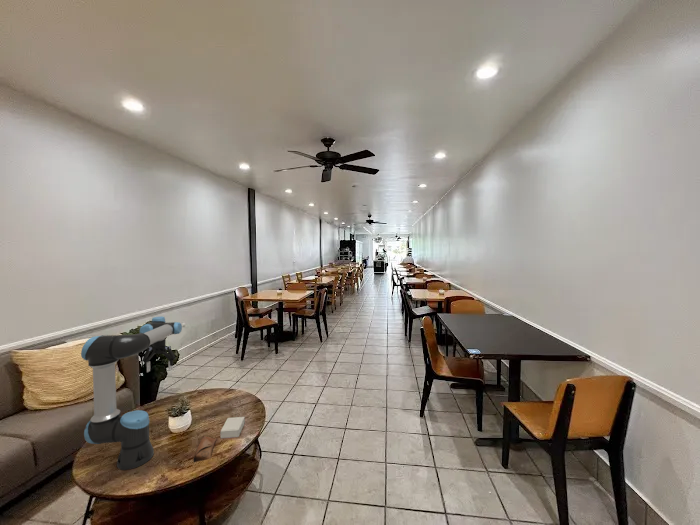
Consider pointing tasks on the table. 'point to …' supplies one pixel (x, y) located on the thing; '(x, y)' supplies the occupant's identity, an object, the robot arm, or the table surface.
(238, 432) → the block
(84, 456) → the table surface
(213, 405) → the table surface
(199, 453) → the sunglasses case
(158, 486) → the table surface
